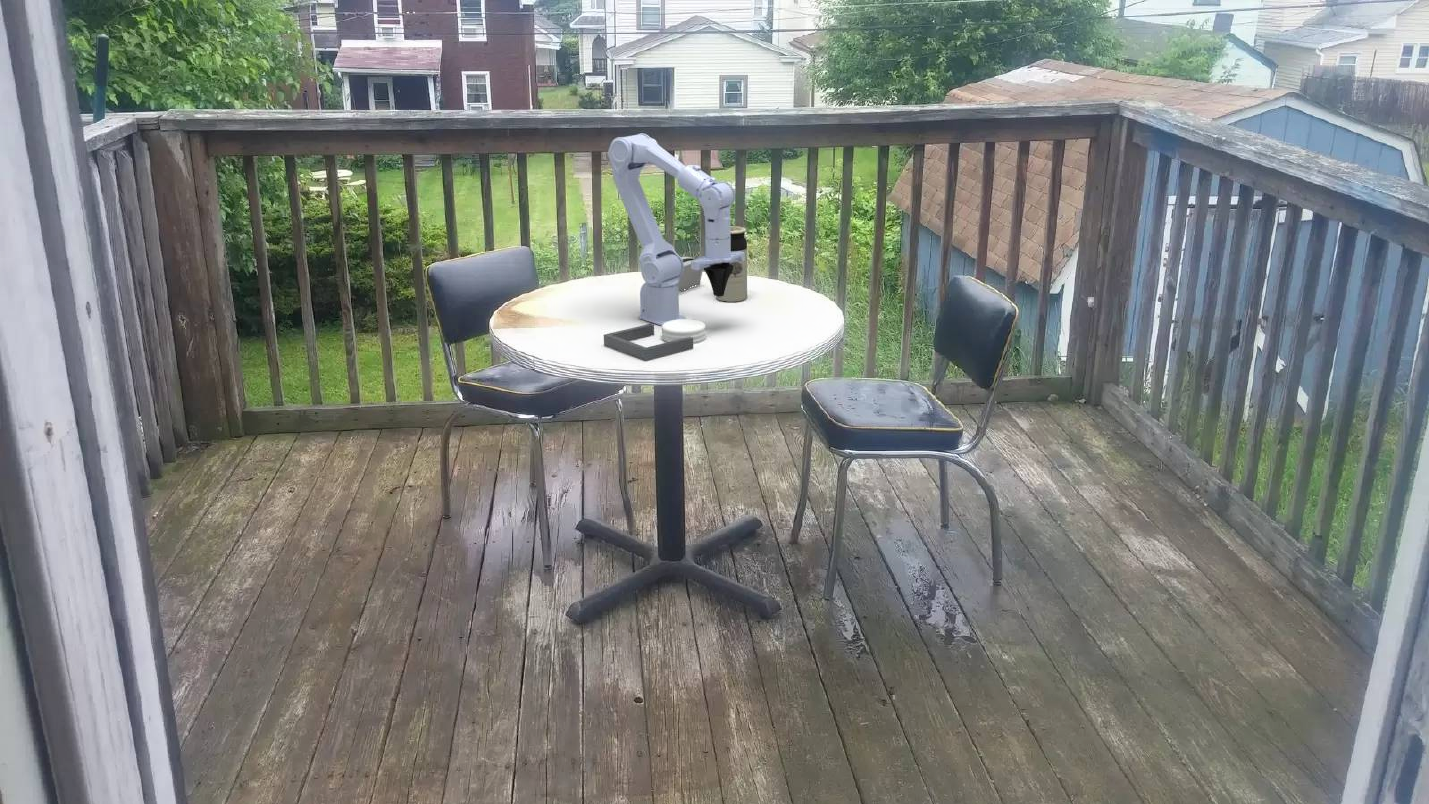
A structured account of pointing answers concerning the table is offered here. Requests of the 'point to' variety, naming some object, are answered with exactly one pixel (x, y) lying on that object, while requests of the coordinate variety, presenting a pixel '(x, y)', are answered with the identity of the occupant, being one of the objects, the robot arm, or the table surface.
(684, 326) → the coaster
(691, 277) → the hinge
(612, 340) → the frame
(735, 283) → the travel mug
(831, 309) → the table surface
